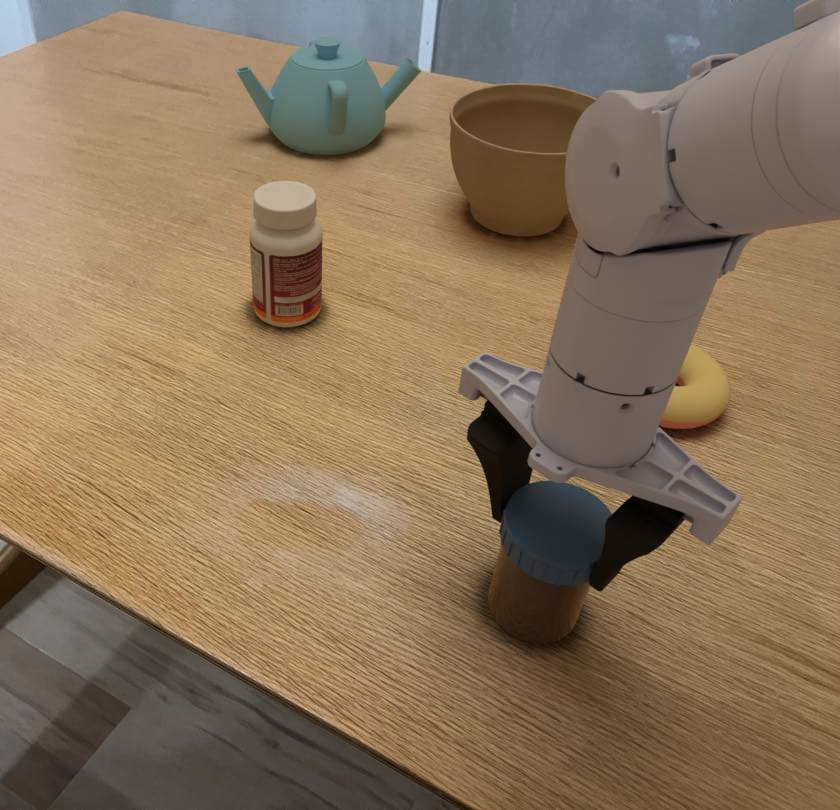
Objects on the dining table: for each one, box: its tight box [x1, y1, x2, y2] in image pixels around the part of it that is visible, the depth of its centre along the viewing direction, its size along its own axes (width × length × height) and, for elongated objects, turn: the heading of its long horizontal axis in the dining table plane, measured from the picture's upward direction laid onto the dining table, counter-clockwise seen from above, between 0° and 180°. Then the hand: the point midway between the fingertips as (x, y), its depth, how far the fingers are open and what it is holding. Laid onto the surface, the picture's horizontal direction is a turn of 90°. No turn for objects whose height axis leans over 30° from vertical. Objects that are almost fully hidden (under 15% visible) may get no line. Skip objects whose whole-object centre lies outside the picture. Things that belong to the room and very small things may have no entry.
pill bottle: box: [248, 180, 324, 328], centre depth 70 cm, size 6×6×11 cm
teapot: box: [235, 36, 422, 156], centre depth 98 cm, size 15×17×11 cm
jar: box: [487, 544, 591, 645], centre depth 48 cm, size 5×5×8 cm
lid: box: [498, 480, 613, 586], centre depth 46 cm, size 6×6×2 cm
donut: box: [659, 343, 731, 430], centre depth 64 cm, size 10×5×9 cm
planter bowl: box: [449, 82, 598, 238], centre depth 83 cm, size 16×16×11 cm
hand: (552, 543), depth 47 cm, fingers closed on lid, 6 cm apart
